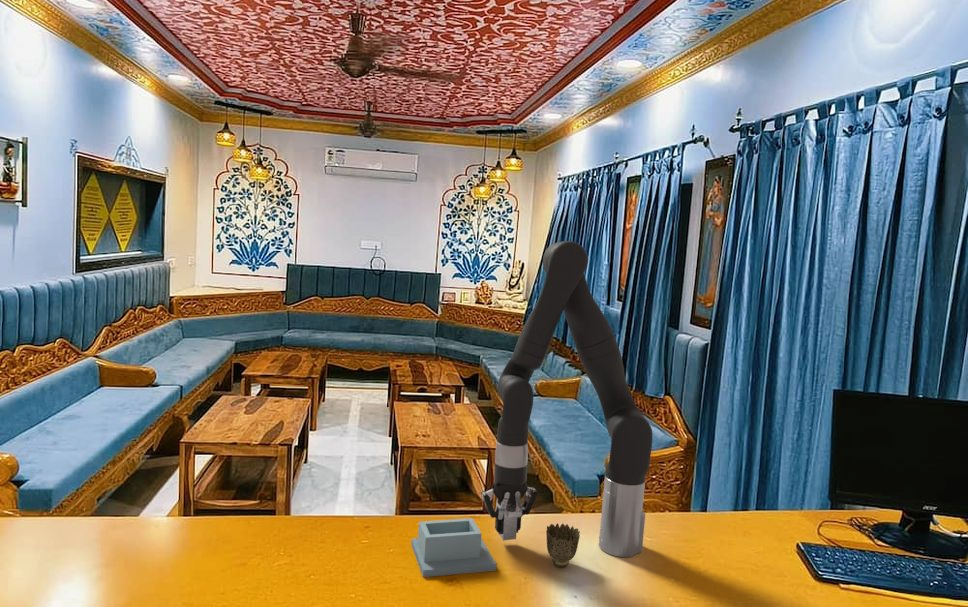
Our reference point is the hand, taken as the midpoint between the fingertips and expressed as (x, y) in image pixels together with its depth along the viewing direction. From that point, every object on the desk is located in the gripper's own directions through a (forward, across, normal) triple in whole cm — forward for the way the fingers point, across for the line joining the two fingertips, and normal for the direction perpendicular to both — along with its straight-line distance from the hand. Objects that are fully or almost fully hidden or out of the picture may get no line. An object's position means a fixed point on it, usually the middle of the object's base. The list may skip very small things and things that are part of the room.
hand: (507, 531), depth 150 cm
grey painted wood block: (+1, 0, +1) cm, 2 cm away
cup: (+4, -9, +11) cm, 14 cm away
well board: (+3, +14, +4) cm, 15 cm away
